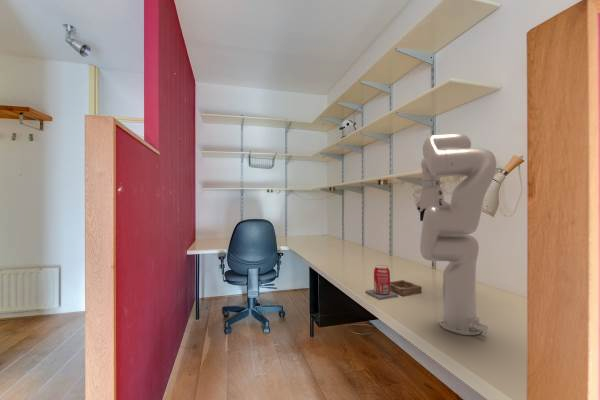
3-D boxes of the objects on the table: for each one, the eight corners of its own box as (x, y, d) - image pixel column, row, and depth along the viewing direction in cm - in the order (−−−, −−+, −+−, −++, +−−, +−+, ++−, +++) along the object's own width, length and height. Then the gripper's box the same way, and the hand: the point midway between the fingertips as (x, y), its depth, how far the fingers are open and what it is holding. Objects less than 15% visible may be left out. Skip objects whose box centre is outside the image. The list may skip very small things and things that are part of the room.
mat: (397, 296, 120) (397, 294, 120) (379, 299, 116) (379, 297, 116) (382, 290, 129) (382, 287, 129) (365, 292, 125) (365, 290, 125)
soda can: (380, 289, 127) (380, 264, 127) (393, 293, 121) (393, 266, 121) (370, 292, 123) (370, 266, 123) (383, 296, 117) (383, 269, 117)
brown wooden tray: (421, 292, 125) (421, 286, 125) (402, 296, 120) (402, 289, 120) (403, 285, 135) (403, 280, 135) (385, 288, 131) (385, 282, 131)
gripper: (453, 183, 118) (454, 222, 118) (422, 186, 134) (422, 220, 134) (441, 183, 115) (442, 223, 115) (410, 185, 131) (411, 220, 131)
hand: (431, 221), depth 124 cm, fingers open, 9 cm apart
